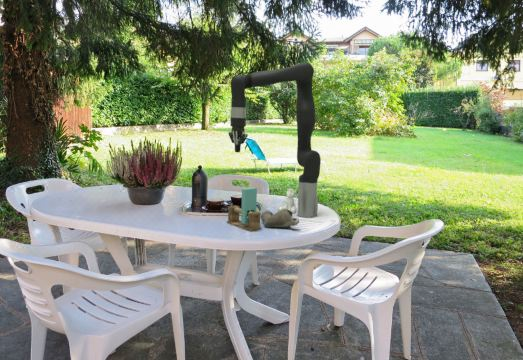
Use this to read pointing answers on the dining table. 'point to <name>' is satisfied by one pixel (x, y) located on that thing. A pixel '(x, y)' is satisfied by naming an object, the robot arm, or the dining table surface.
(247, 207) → the teal flat board
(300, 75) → the robot arm
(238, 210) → the wooden dowel plank
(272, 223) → the pipe
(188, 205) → the dining table surface
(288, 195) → the seated beast figurine
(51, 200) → the dining table surface
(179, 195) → the dining table surface
